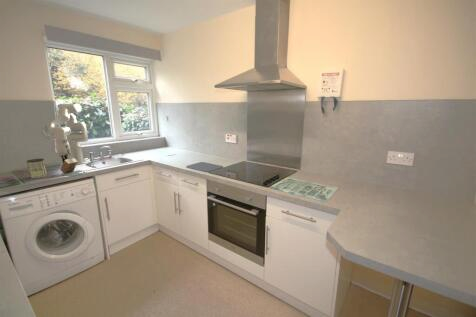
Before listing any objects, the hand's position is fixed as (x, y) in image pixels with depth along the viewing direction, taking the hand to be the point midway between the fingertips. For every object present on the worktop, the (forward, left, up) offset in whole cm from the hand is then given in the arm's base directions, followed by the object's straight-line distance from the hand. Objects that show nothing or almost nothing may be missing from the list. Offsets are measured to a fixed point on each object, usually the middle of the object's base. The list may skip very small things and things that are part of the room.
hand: (65, 162), depth 189 cm
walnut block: (0, 0, -7) cm, 7 cm away
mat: (0, +10, -9) cm, 13 cm away
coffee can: (+14, -13, -9) cm, 21 cm away
